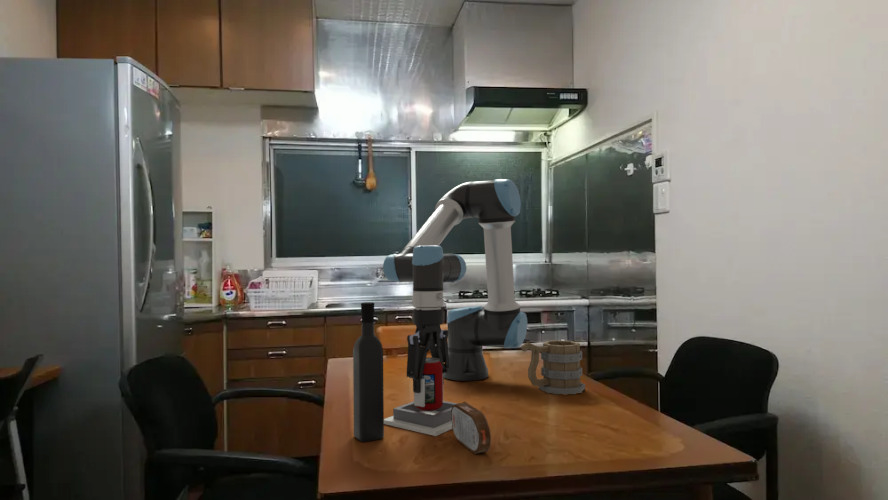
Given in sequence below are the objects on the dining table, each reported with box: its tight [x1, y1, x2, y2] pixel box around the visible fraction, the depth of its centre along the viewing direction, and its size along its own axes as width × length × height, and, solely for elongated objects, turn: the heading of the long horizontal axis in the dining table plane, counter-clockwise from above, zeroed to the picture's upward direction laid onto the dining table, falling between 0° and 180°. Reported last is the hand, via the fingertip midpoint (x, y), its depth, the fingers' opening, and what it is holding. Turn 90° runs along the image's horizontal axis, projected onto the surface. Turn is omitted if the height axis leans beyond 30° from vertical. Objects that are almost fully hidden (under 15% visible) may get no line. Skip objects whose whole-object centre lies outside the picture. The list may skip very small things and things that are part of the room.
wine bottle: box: [352, 301, 385, 443], centre depth 120 cm, size 6×6×30 cm
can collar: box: [384, 400, 458, 437], centre depth 131 cm, size 16×16×4 cm
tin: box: [451, 401, 492, 455], centre depth 113 cm, size 15×3×8 cm, turn 22°
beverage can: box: [416, 356, 444, 411], centre depth 131 cm, size 7×7×12 cm
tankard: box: [520, 340, 586, 396], centre depth 159 cm, size 20×13×15 cm, turn 108°
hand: (428, 402), depth 131 cm, fingers closed on beverage can, 7 cm apart
